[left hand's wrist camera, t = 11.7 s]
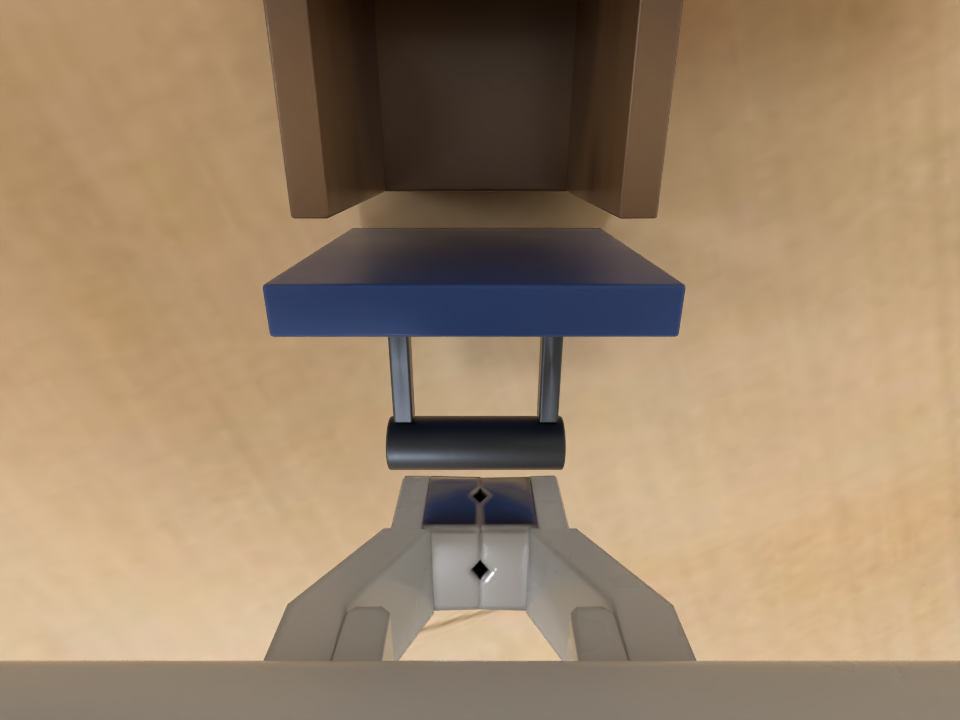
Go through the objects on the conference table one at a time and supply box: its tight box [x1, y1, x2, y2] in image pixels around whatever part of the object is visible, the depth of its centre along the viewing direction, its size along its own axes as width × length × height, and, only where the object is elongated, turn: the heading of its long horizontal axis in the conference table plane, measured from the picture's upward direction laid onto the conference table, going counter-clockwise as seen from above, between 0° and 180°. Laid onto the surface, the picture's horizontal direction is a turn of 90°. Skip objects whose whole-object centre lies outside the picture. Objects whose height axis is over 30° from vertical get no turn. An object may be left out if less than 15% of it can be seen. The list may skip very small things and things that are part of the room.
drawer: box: [263, 0, 685, 470], centre depth 14 cm, size 19×9×8 cm, turn 0°
